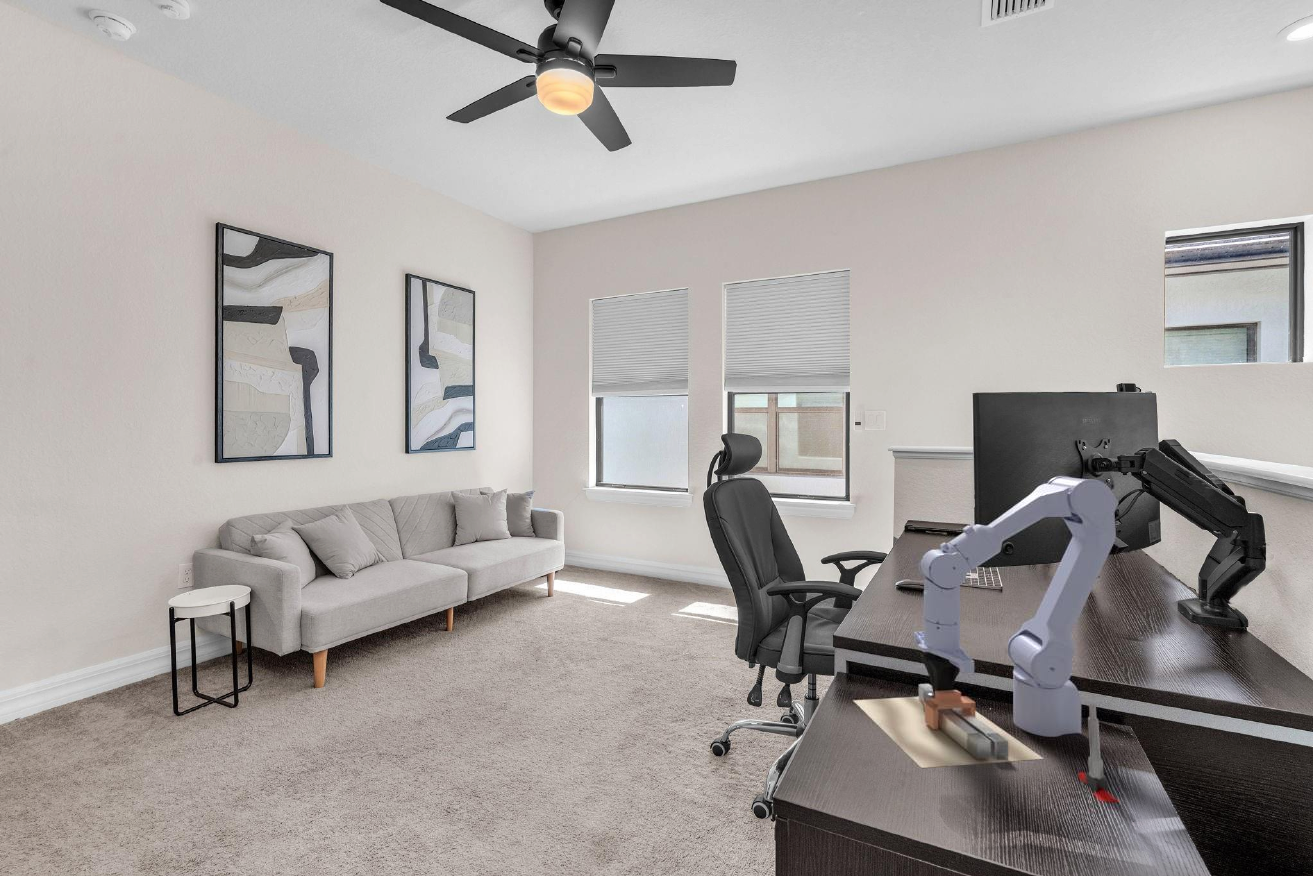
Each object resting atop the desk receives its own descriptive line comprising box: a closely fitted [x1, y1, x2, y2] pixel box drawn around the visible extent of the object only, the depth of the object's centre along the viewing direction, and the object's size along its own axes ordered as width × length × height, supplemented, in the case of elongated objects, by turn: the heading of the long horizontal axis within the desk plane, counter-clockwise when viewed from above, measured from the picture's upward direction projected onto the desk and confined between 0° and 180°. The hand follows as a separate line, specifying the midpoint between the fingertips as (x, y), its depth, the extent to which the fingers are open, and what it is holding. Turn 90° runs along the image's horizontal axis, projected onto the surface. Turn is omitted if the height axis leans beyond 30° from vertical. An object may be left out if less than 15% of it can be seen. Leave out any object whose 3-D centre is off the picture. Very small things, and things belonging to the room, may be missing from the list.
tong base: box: [918, 683, 1008, 760], centre depth 100 cm, size 4×21×3 cm, turn 7°
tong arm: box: [938, 709, 991, 759], centre depth 96 cm, size 2×14×3 cm, turn 6°
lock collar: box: [925, 689, 976, 729], centre depth 100 cm, size 8×2×5 cm, turn 97°
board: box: [852, 696, 1044, 769], centre depth 100 cm, size 20×22×1 cm
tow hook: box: [1077, 702, 1119, 803], centre depth 83 cm, size 8×13×9 cm
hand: (941, 697), depth 102 cm, fingers closed
